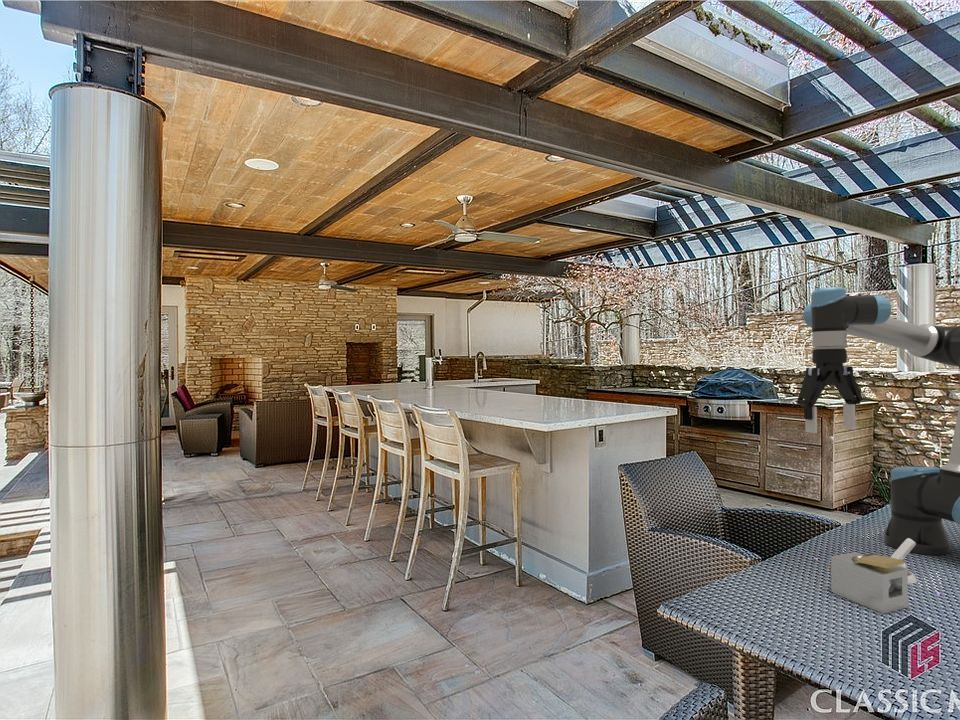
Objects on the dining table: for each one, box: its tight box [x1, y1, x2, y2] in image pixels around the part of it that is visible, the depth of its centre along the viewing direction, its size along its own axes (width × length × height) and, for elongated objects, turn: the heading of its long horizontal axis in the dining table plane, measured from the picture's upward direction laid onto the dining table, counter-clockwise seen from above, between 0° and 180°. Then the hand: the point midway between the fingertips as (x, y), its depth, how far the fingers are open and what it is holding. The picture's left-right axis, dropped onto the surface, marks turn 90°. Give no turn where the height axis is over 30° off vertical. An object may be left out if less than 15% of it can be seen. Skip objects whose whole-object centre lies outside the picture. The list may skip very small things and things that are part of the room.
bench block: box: [830, 551, 909, 614], centre depth 129 cm, size 8×12×8 cm, turn 20°
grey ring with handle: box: [890, 538, 918, 585], centre depth 141 cm, size 8×12×7 cm
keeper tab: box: [852, 552, 905, 568], centre depth 127 cm, size 6×8×1 cm
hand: (830, 430), depth 144 cm, fingers open, 13 cm apart
